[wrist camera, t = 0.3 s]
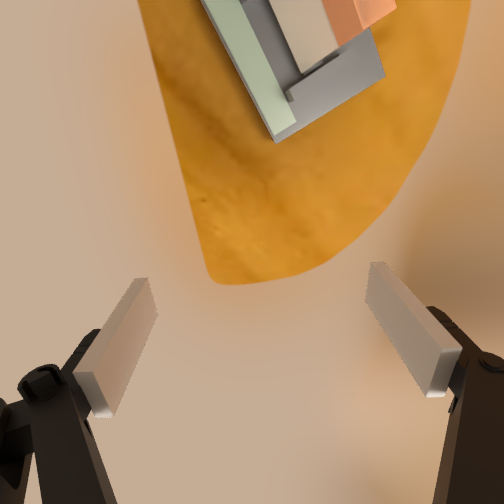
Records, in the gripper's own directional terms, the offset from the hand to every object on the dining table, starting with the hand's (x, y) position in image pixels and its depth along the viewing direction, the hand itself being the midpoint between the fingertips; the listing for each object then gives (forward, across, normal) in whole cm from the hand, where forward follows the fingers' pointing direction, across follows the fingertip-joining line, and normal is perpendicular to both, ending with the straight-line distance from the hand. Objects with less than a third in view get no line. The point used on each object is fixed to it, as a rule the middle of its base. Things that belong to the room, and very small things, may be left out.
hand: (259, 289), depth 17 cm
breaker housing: (+28, +6, +17) cm, 33 cm away
